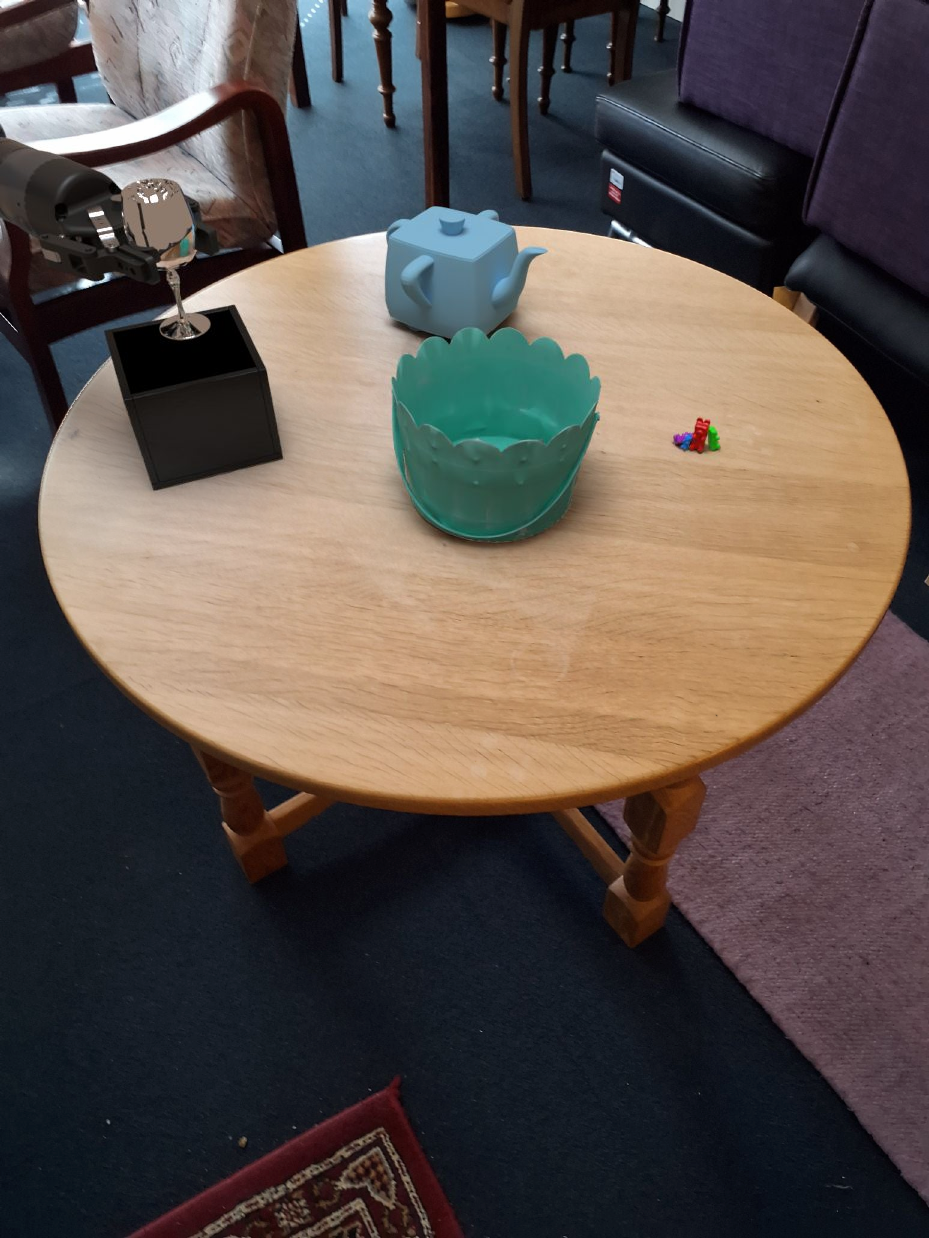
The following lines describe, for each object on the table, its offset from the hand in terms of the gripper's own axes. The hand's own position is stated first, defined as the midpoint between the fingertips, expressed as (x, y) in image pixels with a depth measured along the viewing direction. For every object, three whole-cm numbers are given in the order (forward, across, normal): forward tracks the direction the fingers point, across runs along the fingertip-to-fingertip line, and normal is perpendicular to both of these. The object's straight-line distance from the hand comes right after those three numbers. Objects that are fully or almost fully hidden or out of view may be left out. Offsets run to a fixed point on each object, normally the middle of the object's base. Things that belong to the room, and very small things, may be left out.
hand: (185, 257), depth 74 cm
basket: (+21, +15, +24) cm, 35 cm away
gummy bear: (+35, +34, +24) cm, 54 cm away
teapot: (0, +39, +24) cm, 46 cm away
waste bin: (-8, +3, +24) cm, 26 cm away
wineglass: (-2, 0, +7) cm, 8 cm away
